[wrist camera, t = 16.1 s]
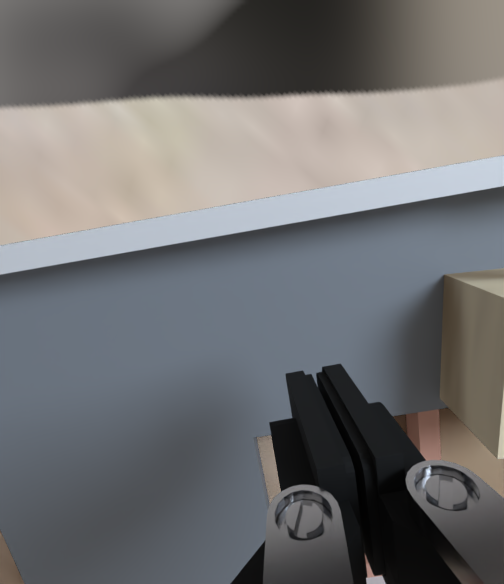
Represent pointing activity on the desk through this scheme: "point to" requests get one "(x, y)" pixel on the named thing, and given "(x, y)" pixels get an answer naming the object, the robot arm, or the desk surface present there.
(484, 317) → the wooden block
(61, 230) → the desk surface
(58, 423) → the box
